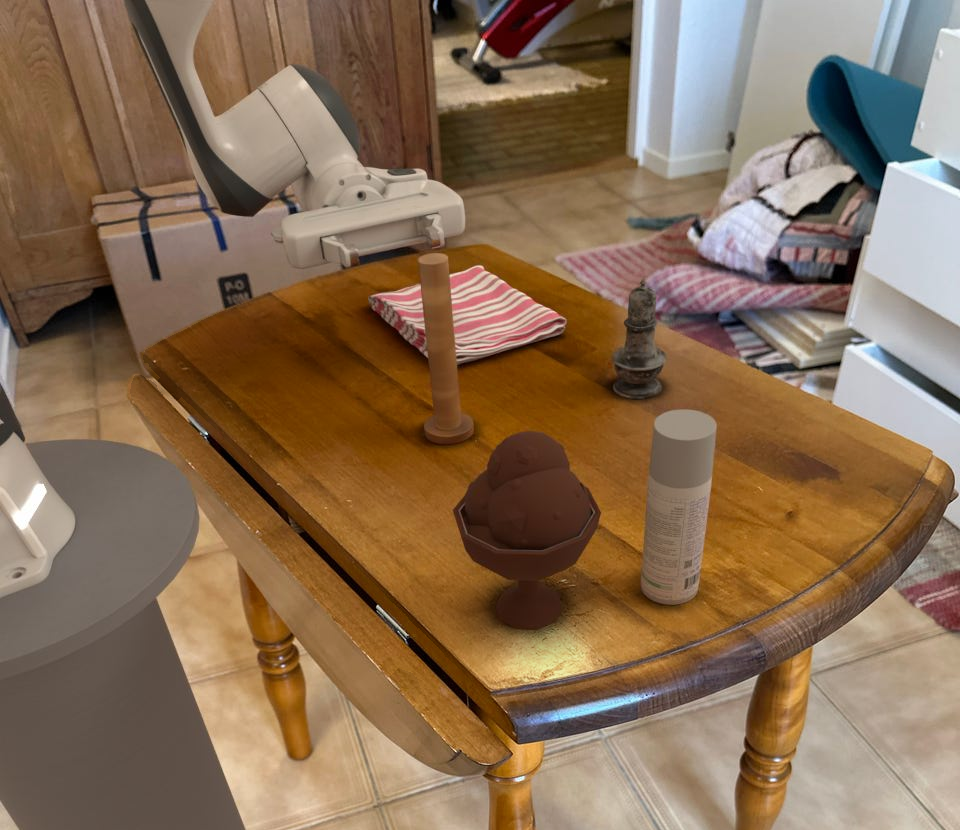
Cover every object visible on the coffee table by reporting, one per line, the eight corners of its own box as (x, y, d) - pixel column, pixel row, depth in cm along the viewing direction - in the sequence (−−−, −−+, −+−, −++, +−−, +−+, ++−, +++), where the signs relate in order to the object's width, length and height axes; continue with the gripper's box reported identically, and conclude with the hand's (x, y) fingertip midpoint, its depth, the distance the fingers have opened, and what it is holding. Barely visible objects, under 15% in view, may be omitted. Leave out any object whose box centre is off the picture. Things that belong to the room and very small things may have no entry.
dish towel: (445, 375, 107) (443, 346, 105) (367, 308, 123) (363, 282, 121) (570, 337, 113) (570, 309, 110) (480, 278, 128) (478, 252, 126)
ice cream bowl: (439, 596, 77) (420, 437, 67) (552, 551, 81) (550, 394, 71) (503, 671, 70) (493, 505, 60) (623, 618, 74) (633, 454, 64)
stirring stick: (447, 450, 95) (430, 273, 83) (414, 433, 98) (393, 260, 86) (484, 430, 97) (472, 256, 85) (450, 414, 100) (435, 244, 88)
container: (687, 565, 78) (705, 404, 68) (706, 600, 75) (728, 435, 65) (633, 574, 78) (644, 413, 68) (650, 609, 75) (663, 445, 64)
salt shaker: (650, 371, 105) (657, 264, 97) (673, 393, 101) (683, 283, 92) (602, 381, 104) (605, 273, 96) (623, 404, 99) (628, 294, 91)
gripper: (260, 200, 101) (292, 238, 91) (435, 165, 106) (482, 198, 96) (273, 258, 105) (304, 301, 95) (440, 222, 110) (486, 259, 101)
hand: (395, 249), depth 96 cm, fingers open, 8 cm apart
